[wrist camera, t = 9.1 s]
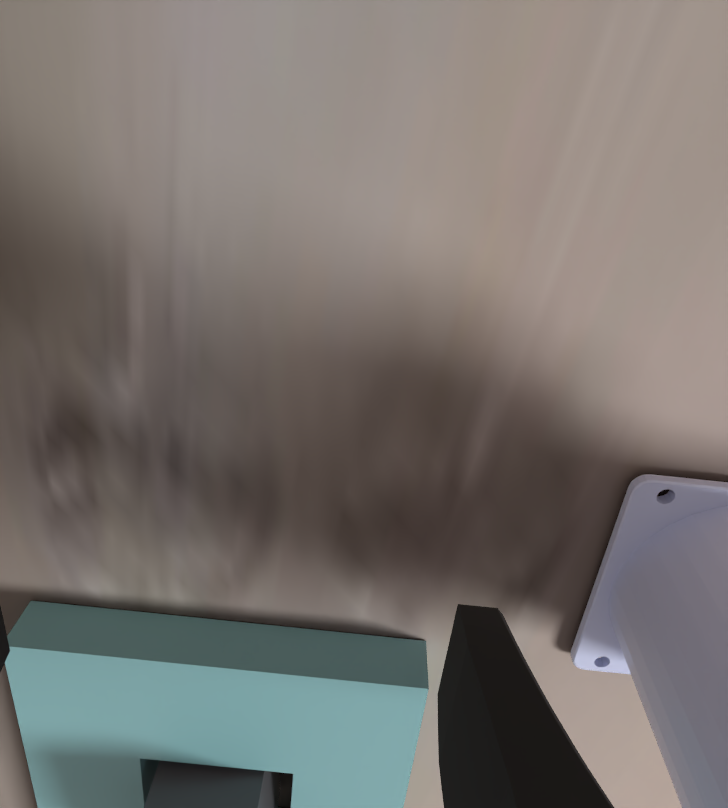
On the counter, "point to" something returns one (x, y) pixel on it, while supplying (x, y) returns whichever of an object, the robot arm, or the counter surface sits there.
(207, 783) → the plug
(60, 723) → the socket plate
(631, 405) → the counter surface
